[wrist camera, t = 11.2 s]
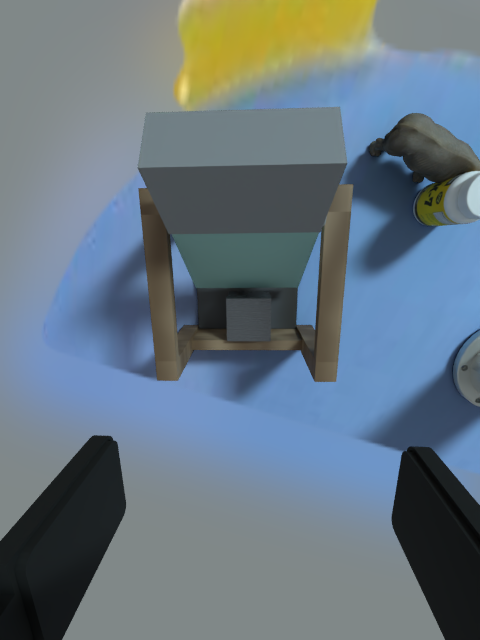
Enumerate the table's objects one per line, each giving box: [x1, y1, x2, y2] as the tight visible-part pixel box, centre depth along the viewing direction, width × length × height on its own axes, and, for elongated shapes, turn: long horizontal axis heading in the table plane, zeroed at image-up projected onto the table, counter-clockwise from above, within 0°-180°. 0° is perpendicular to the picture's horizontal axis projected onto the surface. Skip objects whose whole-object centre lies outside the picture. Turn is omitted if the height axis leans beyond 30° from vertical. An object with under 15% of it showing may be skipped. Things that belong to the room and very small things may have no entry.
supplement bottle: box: [413, 171, 480, 226], centre depth 29 cm, size 5×5×8 cm
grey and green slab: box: [138, 107, 347, 288], centre depth 25 cm, size 12×19×4 cm
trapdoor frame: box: [138, 184, 353, 382], centre depth 31 cm, size 17×17×12 cm
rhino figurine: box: [369, 113, 480, 183], centre depth 29 cm, size 4×14×6 cm, turn 64°
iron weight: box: [226, 291, 271, 341], centre depth 34 cm, size 5×5×5 cm
